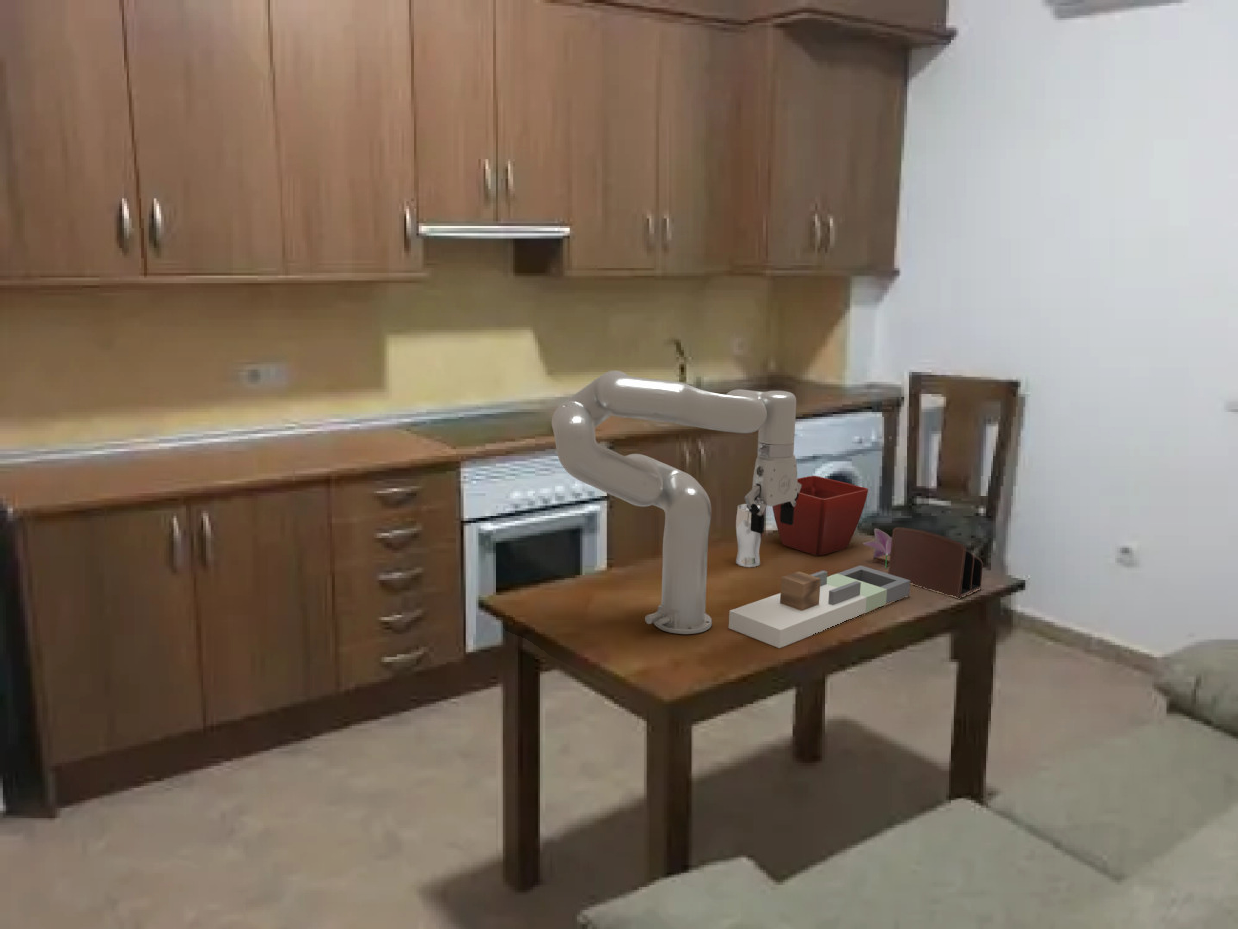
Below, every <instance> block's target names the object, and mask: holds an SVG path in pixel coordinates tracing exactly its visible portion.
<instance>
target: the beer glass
mask: <svg viewBox="0 0 1238 929" xmlns="http://www.w3.org/2000/svg"><path fill="white" fill-rule="evenodd" d="M760 506H761V505H760V504H758V506H757V507H758V508H760ZM736 512H737V513H736V520H735V530H736V532H735V533H736V538H737V539H736V540H737V555H736V559H735V564H736V565H737V564H738V566H740V567H744V568H757V567H758V566H760V564H761V561H760V547H761V541H762V537H763V533H762V534H760V533H757V532H753V531H751V513H750V512H749V509H748V508H747V504H746V503H742V504H738V505H737V511H736ZM764 512H765V511H764ZM764 512H763V514H762V515H764V516H765V514H764ZM756 566H757V567H756Z"/></svg>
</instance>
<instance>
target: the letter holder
mask: <svg viewBox="0 0 1238 929" xmlns="http://www.w3.org/2000/svg"><path fill="white" fill-rule="evenodd" d="M891 537H892V543H891V552H890V556H889V561H888V562H889V563H888V570H887V573H888V574H891V575H894V576H897V577H901V578H904V579H907V580H910V583H913V584H915V585H918V586H922V587H925V588H927V589H932V590H935V591H939V592H942V593H944V594H947V595H953V596H956V597H958V598H960V597H962V596H964V595H967V594H969V593H971V592H973V591H974V590H976V589H979V588H982V578H983V568H984V563H983V561H982V559H981V558H979V557H977V556H975V555H974V554H973V552H971V551H969V550H967V548H966V546H965V544H962V543H960V542H958V541H955V540H953V539H951V538H948V537H945V536H943V535H939V534H936V533H933V532H929V531H926V530H922V529H915V528H907V527H898V526H897V527H894V528H893V529H892V535H891ZM927 589H926V590H927Z"/></svg>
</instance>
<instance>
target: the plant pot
mask: <svg viewBox="0 0 1238 929" xmlns="http://www.w3.org/2000/svg"><path fill="white" fill-rule="evenodd" d="M797 482H798V483H800V484H801V489H800V492H799V497H798V499H797V500H796V506H795V507H794V517H793V525H788V524H785V523H781V522H780V511H781V504H779V505H775V506H771V507H772V512H773V517H774V521H775V525H776V529H777V532H778V534H779V538H780V541H781V543H782V546H786V547H789V548H793V549H795V550H798V551H801V552H805V553H808V554H810V555H814V556H823V555H826V554H830V553H834V552H837V551H841V550H845V549H847V548H848V546H849V545H850V543H851V540H852V538H853V536H854V534H855V532H856V529H857V527H858V524H859V522H860V519H861V516H862V514H863V511H864V508H865V504H866V501H867V497H868V493H869V488H867V487H863V486H859V485H855V484H852V483H849V482H843V481H841V480H840V481H839V480H835V479H831V478H827V477H822V476H818V475H809V476H804V477H799V478H798V477H797Z"/></svg>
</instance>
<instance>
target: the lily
mask: <svg viewBox="0 0 1238 929" xmlns="http://www.w3.org/2000/svg"><path fill="white" fill-rule="evenodd" d="M873 532H874V533H873V534H874V539H875V540H873V541H865V542H863V545H865V546H867V547H870V548H873V549H874V550H873V558H874V559H877V558H881V557H884V556H885V566H884V567H885V568H886V569H887V565H888V564H887V563H888V556H889V557H890V552H891V543H892V536H890V535H889V534H888V533H886V532H885V531H883V530H881V529H880V528H877V527H875V528H874V530H873ZM885 568H884V569H885Z"/></svg>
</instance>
